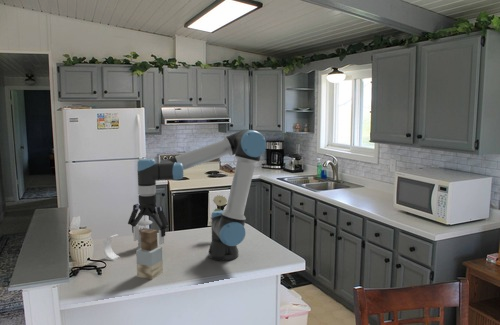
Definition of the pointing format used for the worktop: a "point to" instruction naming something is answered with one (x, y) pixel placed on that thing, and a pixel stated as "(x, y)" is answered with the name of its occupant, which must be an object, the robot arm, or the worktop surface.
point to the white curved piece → (109, 249)
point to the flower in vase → (219, 201)
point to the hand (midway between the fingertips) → (148, 241)
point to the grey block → (149, 256)
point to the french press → (142, 223)
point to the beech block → (150, 270)
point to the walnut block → (149, 239)
